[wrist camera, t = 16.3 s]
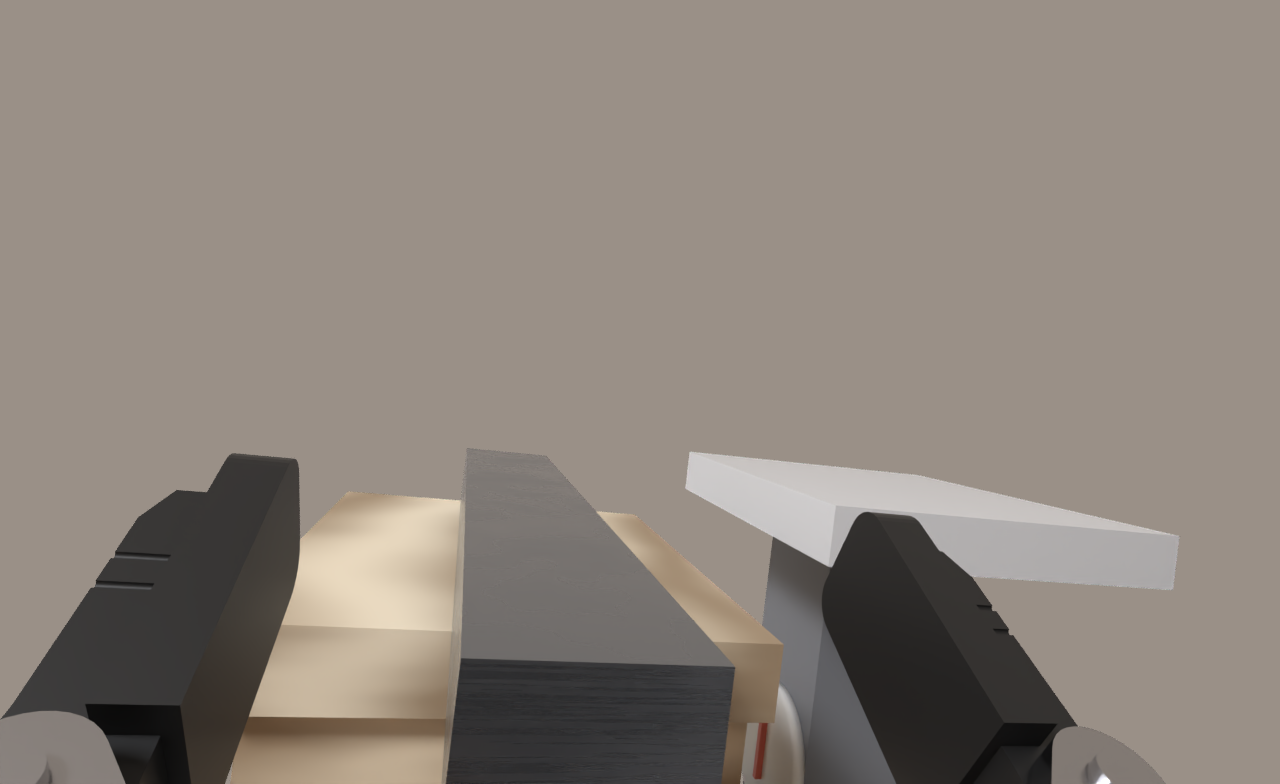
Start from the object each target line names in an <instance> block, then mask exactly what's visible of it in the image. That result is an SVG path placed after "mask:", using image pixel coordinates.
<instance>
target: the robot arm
mask: <svg viewBox="0 0 1280 784" xmlns="http://www.w3.org/2000/svg"><path fill="white" fill-rule="evenodd" d="M299 514H300V507H299V467H298V462H297V460H296V459H291V458H280V457H269V456H258V455H246V454H236V453H234V454H231V455H229V457H228V458H227V459H226V461H225V462H224V464H223V466H222V467H221V469H220V471H219V473H218V474H217V476H216V478H215V480H214V481H213V483H212V485H211V486H210V488H209V490H208V492H194V491H181V490H176V491H175V492H174V493H172V494H171V495H169V496H168V497H167V498H165V499H164V500H162V501H161V502H159V503H158V504H157V505H155V506H154V507H152V508H151V509H149V510H148V511H147V512H145V513H144V514H142V515H141V516H139V517H138V518H137V520H136V521H135V523H134V525H133V526H132V528H131V529H130V530H129V532H128V533H127V535H126V536H125V538H124V539H123V541H122V543H121V544H120V545H119V547H118V548H117V550H116V551H115V557H114V558H111V559H110V560H109V562H108V563H107V565H106V566H105V568H104V569H103V571H102V572H101V574H100V575H99V577H98V578H97V580H96V585H95V587H94V588H91V589H90V590H89V591H88V593H87V594H86V596H85V597H84V599H83V600H82V602H81V603H80V605H79V607H78V608H77V609H76V611H75V612H74V614H73V615H72V617H71V618H70V620H69V621H68V623H67V624H66V626H65V627H64V629H63V630H62V632H61V633H60V635H59V636H58V638H57V640H55V642H54V644H53V645H52V647H51V648H50V649H49V651H48V652H47V654H46V656H45V657H44V658H43V660H42V661H41V663H40V664H39V666H38V667H37V669H36V670H35V672H34V673H33V675H32V676H31V678H30V679H29V681H28V682H27V684H26V685H25V687H24V688H23V690H22V691H21V693H20V694H19V696H18V697H17V698H16V700H15V702H14V703H13V704H12V706H11V707H10V708H9V709H8V711H7V712H6V713H5V715H4V716H3V717H2V718H1V719H0V784H225V782H226V779H227V776H228V773H229V770H230V767H231V764H232V762H233V759H234V756H235V754H236V751H237V748H238V745H239V742H240V740H241V737H242V734H243V731H244V728H245V725H246V723H247V720H248V717H249V714H250V711H251V709H252V706H253V703H254V700H255V697H256V695H257V692H258V689H259V686H260V683H261V680H262V678H263V675H264V672H265V669H266V666H267V664H268V661H269V658H270V655H271V652H272V650H273V647H274V644H275V641H276V638H277V636H278V633H279V630H280V627H281V624H282V621H283V619H284V616H285V613H286V610H287V607H288V605H289V602H290V599H291V596H292V593H293V589H294V585H295V581H296V576H297V571H298V564H299V556H300V515H299ZM822 613H823V618H824V622H825V625H826V627H827V629H828V632H829V634H830V636H831V638H832V641H833V643H834V645H835V647H836V650H837V652H838V654H839V656H840V659H841V661H842V663H843V665H844V668H845V670H846V672H847V674H848V677H849V679H850V681H851V683H852V686H853V688H854V690H855V692H856V695H857V697H858V699H859V701H860V704H861V706H862V708H863V710H864V713H865V715H866V717H867V719H868V721H869V724H870V726H871V728H872V730H873V733H874V735H875V737H876V739H877V742H878V744H879V746H880V748H881V751H882V753H883V755H884V757H885V760H886V762H887V764H888V766H889V769H890V771H891V773H892V775H893V778H894V780H895V782H896V784H1165V782H1164V781H1163V780H1162V778H1161V777H1160V776H1159V775H1158V774H1157V772H1156V771H1155V770H1154V769H1153V768H1152V767H1151V766H1150V765H1149V764H1148V763H1147V762H1146V761H1145V760H1144V759H1142V758H1141V757H1140V756H1139V755H1138V754H1136V753H1135V752H1134V751H1133V750H1131V749H1130V748H1128V747H1127V746H1125V745H1124V744H1123V743H1121V742H1119V741H1118V740H1116V739H1114V738H1113V737H1111V736H1108V735H1106V734H1104V733H1102V732H1099V731H1097V730H1094V729H1090V728H1086V727H1078V726H1077V725H1076V723H1075V722H1074V720H1073V719H1072V718H1071V716H1070V715H1069V713H1068V712H1067V710H1066V709H1065V708H1064V706H1063V705H1062V704H1061V702H1060V701H1059V699H1058V698H1057V696H1056V695H1055V693H1054V692H1053V691H1052V689H1051V688H1050V686H1049V685H1048V684H1047V682H1046V681H1045V680H1044V678H1043V677H1042V676H1041V674H1040V673H1039V671H1038V670H1037V668H1036V667H1035V666H1034V664H1033V663H1032V661H1031V660H1030V658H1029V657H1028V655H1027V654H1026V653H1025V651H1024V650H1023V648H1022V647H1021V646H1020V644H1019V643H1018V641H1017V640H1016V639H1015V637H1014V636H1013V635H1009V633H1008V630H1009V629H1008V627H1007V626H1006V624H1005V623H1004V622H1003V620H1002V619H1001V617H1000V616H999V615H998V613H997V612H996V611H992V605H991V604H990V602H989V601H988V599H987V598H986V596H985V595H984V594H983V592H982V591H981V589H980V588H979V586H978V585H977V584H976V582H975V581H974V579H973V578H972V577H971V576H970V575H969V574H968V573H967V572H965V571H964V570H963V569H962V568H961V567H960V566H959V565H957V564H956V563H955V562H954V561H953V560H952V559H951V558H949V557H948V556H947V555H946V554H945V553H944V552H942V551H939V550H938V548H937V547H936V545H935V544H934V542H933V541H932V540H931V538H930V537H929V535H928V534H927V532H926V531H925V529H924V528H923V526H922V525H921V524H920V522H919V521H918V520H917V519H916V518H914V517H912V516H908V515H898V514H886V513H875V512H863V513H861V514H860V515H858V516H857V518H856V519H855V521H854V522H853V524H852V526H851V528H850V531H849V533H848V535H847V537H846V539H845V541H844V543H843V545H842V547H841V550H840V552H839V554H838V556H837V558H836V560H835V562H834V564H833V566H832V569H831V571H830V573H829V575H828V577H827V579H826V581H825V584H824V587H823V592H822Z"/></svg>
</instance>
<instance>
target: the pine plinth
mask: <svg viewBox="0 0 1280 784" xmlns="http://www.w3.org/2000/svg"><path fill="white" fill-rule="evenodd" d="M460 503H461V501H458V500H447V499H435V498H434V499H433V498H422V497H409V496H397V495H385V494H372V493H360V492H347V493H346V494H345V495H344V496H343V497H342V498H341V499H340V500H339V501H338V502H337V504H335V505H334V506H333V507H332V508H331V509H330V510H329V511H328V512H327V513H326V514H325V515H324V516H323V517H322V518H321V519H320V520H319V521H318V522H317V523H316V524H315V525H314V526H313V527H312V528H311V529H310V530H309V531H308V532H307V533H306V534H305V535H304V536H303V537H302V538H301V539H300V556H299V564H298V571H297V576H296V581H295V585H294V589H293V593H292V596H291V599H290V602H289V605H288V607H287V610H286V613H285V616H284V619H283V621H282V624H281V627H280V630H279V633H278V636H277V638H276V641H275V644H274V647H273V650H272V652H271V655H270V658H269V661H268V664H267V666H266V669H265V672H264V675H263V678H262V680H261V683H260V686H259V689H258V692H257V695H256V697H255V700H254V703H253V706H252V709H251V711H250V714H249V717H248V720H247V723H246V725H245V728H244V731H243V734H242V737H241V740H240V742H239V745H238V748H237V751H236V754H235V756H234V759H233V765H232V775H231V782H230V784H441V782H442V767H443V753H444V738H445V723H446V708H447V694H448V679H449V664H450V649H451V634H452V620H453V605H454V590H455V575H456V561H457V546H458V531H459V516H460ZM597 513H598V514H599V515H600V517H601V518H602V519H603V520H604V521H605V522H606V523H607V524H608V525H609V527H610V528H611V529H612V530H613V531H614V532H615V533H616V534H617V535H618V537H619V538H620V539H621V540H622V541H623V542H624V543H625V544H626V545H627V547H628V548H629V549H630V550H631V551H632V552H633V553H634V554H635V556H636V557H637V558H638V559H639V560H640V561H641V562H642V563H643V564H644V566H645V567H646V568H647V569H648V570H649V571H650V572H651V573H652V574H653V576H654V577H655V578H656V579H657V580H658V581H659V582H660V583H661V585H662V586H663V587H664V588H665V589H666V590H667V591H668V592H669V593H670V595H671V596H672V597H673V598H674V599H675V600H676V601H677V602H678V603H679V605H680V606H681V607H682V608H683V609H684V610H685V611H686V612H687V614H688V615H689V616H690V617H691V618H692V619H693V620H694V621H695V622H696V624H697V625H698V626H699V627H700V628H701V629H702V630H703V631H704V632H705V634H706V635H707V636H708V637H709V638H710V639H711V640H712V641H713V642H714V644H715V645H716V646H717V647H718V648H719V649H720V650H721V651H722V653H723V654H724V655H725V656H726V657H727V658H728V659H729V660H730V661H731V663H732V664H733V665H734V666H735V674H734V682H733V690H732V699H731V707H730V715H729V723H728V732H727V740H726V748H725V756H724V765H723V773H722V781H721V784H740V779H741V771H742V763H743V755H744V747H745V738H746V730H747V723H774V722H775V713H776V705H777V697H778V689H779V680H780V672H781V664H782V656H783V647H784V644H783V643H782V642H780V641H779V640H778V639H777V638H776V637H775V636H774V635H772V634H771V633H770V632H769V631H768V630H767V629H765V628H764V627H763V626H762V625H761V624H760V623H759V622H757V621H756V620H755V619H754V618H753V617H752V616H751V615H749V614H748V613H747V612H746V611H745V610H744V609H743V608H741V607H740V606H739V605H738V604H737V603H736V602H734V601H733V600H732V599H731V598H730V597H729V596H728V595H726V594H725V593H724V592H723V591H722V590H721V589H720V588H718V587H717V586H716V585H715V584H714V583H713V582H712V581H710V580H709V579H708V578H707V577H706V576H704V575H703V574H702V573H701V572H700V571H699V570H698V569H697V568H695V567H694V566H693V565H692V564H691V563H690V562H688V561H687V560H686V559H685V558H684V557H683V556H682V555H680V554H679V553H678V552H677V551H676V550H675V549H674V548H672V547H671V546H670V545H669V544H668V543H667V542H666V541H664V540H663V539H662V538H661V537H660V536H659V535H658V534H656V533H655V532H654V531H653V530H652V529H651V528H650V527H648V526H647V525H646V524H645V523H644V522H643V521H642V520H640V519H639V518H638V517H637V516H636V515H634V514H622V513H609V512H597Z"/></svg>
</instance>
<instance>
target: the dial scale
mask: <svg viewBox="0 0 1280 784" xmlns="http://www.w3.org/2000/svg"><path fill="white" fill-rule="evenodd" d="M686 489H687V490H689V491H691V492H693V493H694V494H696V495H698V496H700V497H702V498H704V499H705V500H707V501H709V502H711V503H713V504H715V505H717V506H718V507H720V508H722V509H724V510H725V511H727V512H729V513H731V514H733V515H735V516H736V517H738V518H740V519H742V520H744V521H746V522H748V523H749V524H751V525H753V526H755V527H757V528H759V529H760V530H762V531H764V532H766V533H768V534H770V535H771V536H773V541H772V550H771V558H770V566H769V575H768V582H767V591H766V599H765V607H764V616H763V624H762V626H763V627H764V628H765V629H767V630H768V631H769V632H770V633H771V634H772V635H774V636H775V637H776V638H777V639H778V640H779V641H780V642H782V643H783V644H784V647H783V656H782V664H781V672H780V680H779V689H778V697H777V705H776V713H775V722H774V723H747V730H746V738H745V747H744V755H743V763H742V774H743V780H744V781H743V784H896V782H895V780H894V778H893V775H892V773H891V771H890V769H889V766H888V764H887V762H886V760H885V757H884V755H883V753H882V751H881V748H880V746H879V744H878V742H877V739H876V737H875V735H874V733H873V730H872V728H871V726H870V724H869V721H868V719H867V717H866V715H865V713H864V710H863V708H862V706H861V704H860V701H859V699H858V697H857V695H856V692H855V690H854V688H853V686H852V683H851V681H850V679H849V677H848V674H847V672H846V670H845V668H844V665H843V663H842V661H841V659H840V656H839V654H838V652H837V650H836V647H835V645H834V643H833V641H832V638H831V636H830V634H829V632H828V629H827V627H826V625H825V622H824V618H823V613H822V592H823V587H824V584H825V581H826V579H827V577H828V575H829V573H830V571H831V569H832V566H833V564H834V562H835V560H836V558H837V556H838V554H839V552H840V550H841V547H842V545H843V543H844V541H845V539H846V537H847V535H848V533H849V531H850V528H851V526H852V524H853V522H854V521H855V519H856V518H857V516H858V515H860V514H861V513H863V512H875V513H886V514H898V515H908V516H912V517H914V518H916V519H917V520H918V521H919V522H920V524H921V525H922V526H923V528H924V529H925V531H926V532H927V534H928V535H929V537H930V538H931V540H932V541H933V542H934V544H935V545H936V547H937V548H938V550H939V551H942V552H944V553H945V554H946V555H947V556H948V557H949V558H951V559H952V560H953V561H954V562H955V563H956V564H957V565H959V566H960V567H961V568H962V569H963V570H964V571H965V572H967V573H968V574H969V575H970V576H973V577H987V578H1003V579H1017V580H1032V581H1047V582H1063V583H1077V584H1091V585H1106V586H1107V585H1108V586H1122V587H1136V588H1152V589H1166V590H1173V584H1174V576H1175V568H1176V559H1177V551H1178V542H1179V536H1177V535H1172V534H1168V533H1164V532H1160V531H1155V530H1151V529H1147V528H1143V527H1138V526H1133V525H1129V524H1125V523H1121V522H1117V521H1113V520H1108V519H1104V518H1100V517H1095V516H1091V515H1087V514H1082V513H1078V512H1073V511H1069V510H1065V509H1061V508H1056V507H1053V506H1048V505H1043V504H1039V503H1035V502H1031V501H1027V500H1022V499H1018V498H1014V497H1009V496H1005V495H1001V494H997V493H992V492H988V491H984V490H980V489H975V488H971V487H967V486H963V485H958V484H954V483H950V482H945V481H941V480H937V479H933V478H928V477H924V476H920V475H912V474H901V473H892V472H883V471H873V470H863V469H854V468H843V467H834V466H824V465H814V464H804V463H795V462H784V461H775V460H766V459H755V458H746V457H737V456H727V455H716V454H707V453H698V452H690V455H689V463H688V472H687V480H686Z"/></svg>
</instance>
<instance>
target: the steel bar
mask: <svg viewBox="0 0 1280 784" xmlns="http://www.w3.org/2000/svg"><path fill="white" fill-rule="evenodd" d="M465 462H466V463H465V471H464V478H463V486H462V495H461V503H460V516H459V531H458V546H457V561H456V575H455V590H454V605H453V620H452V634H451V649H450V664H449V679H448V694H447V708H446V723H445V738H444V753H443V767H442V782H441V784H721V781H722V773H723V765H724V756H725V748H726V740H727V732H728V723H729V715H730V707H731V699H732V690H733V682H734V674H735V666H734V665H733V664H732V663H731V661H730V660H729V659H728V658H727V657H726V656H725V655H724V654H723V653H722V651H721V650H720V649H719V648H718V647H717V646H716V645H715V644H714V642H713V641H712V640H711V639H710V638H709V637H708V636H707V635H706V634H705V632H704V631H703V630H702V629H701V628H700V627H699V626H698V625H697V624H696V622H695V621H694V620H693V619H692V618H691V617H690V616H689V615H688V614H687V612H686V611H685V610H684V609H683V608H682V607H681V606H680V605H679V603H678V602H677V601H676V600H675V599H674V598H673V597H672V596H671V595H670V593H669V592H668V591H667V590H666V589H665V588H664V587H663V586H662V585H661V583H660V582H659V581H658V580H657V579H656V578H655V577H654V576H653V574H652V573H651V572H650V571H649V570H648V569H647V568H646V567H645V566H644V564H643V563H642V562H641V561H640V560H639V559H638V558H637V557H636V556H635V554H634V553H633V552H632V551H631V550H630V549H629V548H628V547H627V545H626V544H625V543H624V542H623V541H622V540H621V539H620V538H619V537H618V535H617V534H616V533H615V532H614V531H613V530H612V529H611V528H610V527H609V525H608V524H607V523H606V522H605V521H604V520H603V519H602V518H601V517H600V515H599V514H598V513H597V512H596V511H595V510H594V509H593V508H592V507H591V505H590V504H589V503H588V502H587V501H586V500H585V499H584V498H583V497H582V495H581V494H580V493H579V492H578V491H577V490H576V489H575V488H574V486H573V485H572V484H571V483H570V482H569V481H568V480H567V479H566V477H564V475H563V474H562V473H561V472H560V471H559V470H558V469H557V467H556V466H555V465H554V464H553V463H552V462H551V461H550V460H549V459H548V457H547V456H542V455H531V454H521V453H511V452H500V451H490V450H480V449H479V450H478V449H469V448H467V454H466V461H465Z"/></svg>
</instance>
